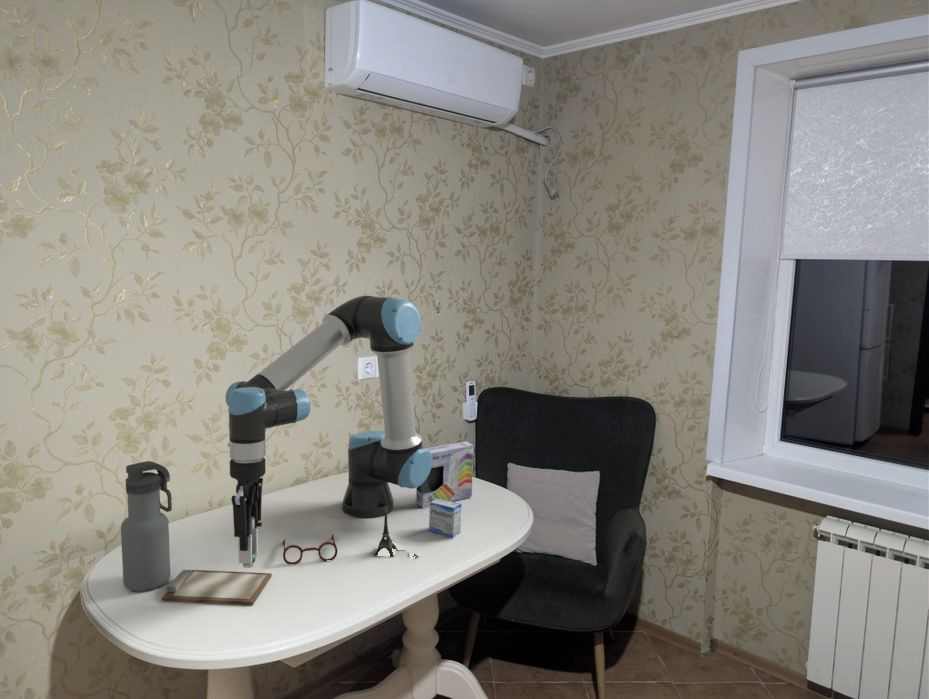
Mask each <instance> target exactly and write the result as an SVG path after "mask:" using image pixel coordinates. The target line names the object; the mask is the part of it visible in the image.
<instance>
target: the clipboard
mask: <svg viewBox="0 0 929 699" xmlns="http://www.w3.org/2000/svg"><path fill="white" fill-rule="evenodd" d="M272 576H273V574H272V573H271V572H250V571H249V572H248V571H232V570H231V571H230V570H229V571H227V570H226V571H225V570H208V569H207V570H204V569H203V570H202V569H182V570H181V571H180V572H179V573H178V574H177V575H176V577H174V578H173V580H172V581H171V582H170V583H169V584H168V585H167V586H166V592H165V593H164V595H162V596H161V602H173V603H174V602H175V603H192V604H194V603H195V604H197V603H198V604H215V605H216V604H219V605H237V606H238V605H239V606H254V604H255V603H256V601H257V599H258V598H259V597H260V595H261V593H262V592H263V590H264V589H265V588H266V586H267V585H268V583H269V582H270V579H271V578H272Z"/></svg>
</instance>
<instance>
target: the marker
mask: <svg viewBox="0 0 929 699" xmlns="http://www.w3.org/2000/svg"><path fill="white" fill-rule="evenodd" d="M250 534H251V535H252V563H251V564H245V563H242V567H243V568H246V569H249V568H252V567H254V566H255V562H256V556H255V517H252V516H251V525H250Z"/></svg>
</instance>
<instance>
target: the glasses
mask: <svg viewBox="0 0 929 699" xmlns="http://www.w3.org/2000/svg"><path fill="white" fill-rule="evenodd" d="M334 536H335V534H332V535H331V537H330V540H331V539H332V540H331V541H332V542H331V541H326V542H323V543H321V544H320V545H319V546H318V547H305V548H302V547H301V546H299V545H296V544H289V545H287V547H286V539H283V540H282V545H283V552H282V558H283V561H284V563H286V564H287V565H289V564H294V565H297V564H299V563H300V562H301V561H302V559H303V554H304V552H309V551H317V554H318V557H319V559H320V560H321V561H323V562H328V561H327V560H331V561H333V560H335V559H336V557H337V555H338V547H337V545H336V542H335V537H334ZM327 545H331V546H332V547H333V548H334V554H333V556H331V557H329V558H325V557H323V556H322V554H321V552H322V551H321V550H322V548H323V547H324V546H327ZM293 548H295V549H297V550H299V552H300V553H299V554H300V555H299V558H298V559H297V560H296V561H289V560H287V558H286V553H287V552H288V550H289V549H293Z"/></svg>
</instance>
